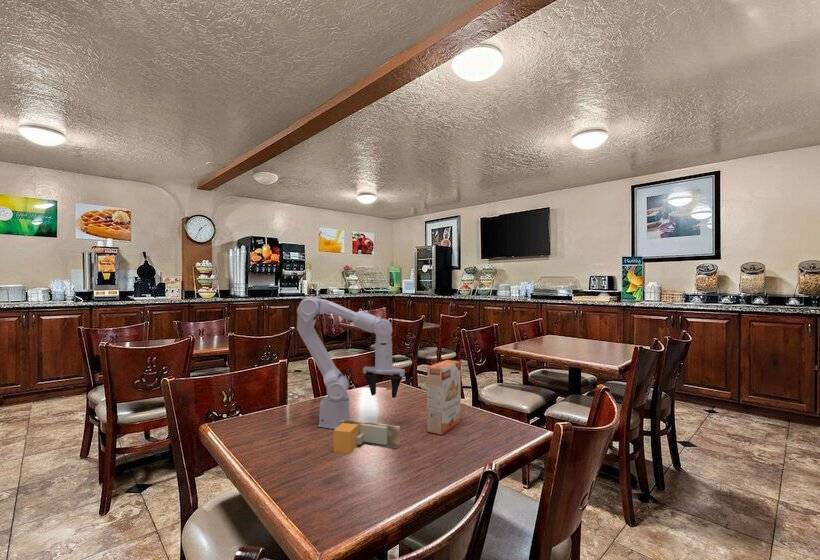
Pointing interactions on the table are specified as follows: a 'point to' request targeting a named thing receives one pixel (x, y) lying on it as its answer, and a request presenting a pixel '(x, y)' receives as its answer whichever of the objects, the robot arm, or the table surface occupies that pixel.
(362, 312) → the robot arm
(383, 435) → the sliding gate
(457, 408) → the cracker box
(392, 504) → the table surface
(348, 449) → the block
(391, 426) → the wooden track base
